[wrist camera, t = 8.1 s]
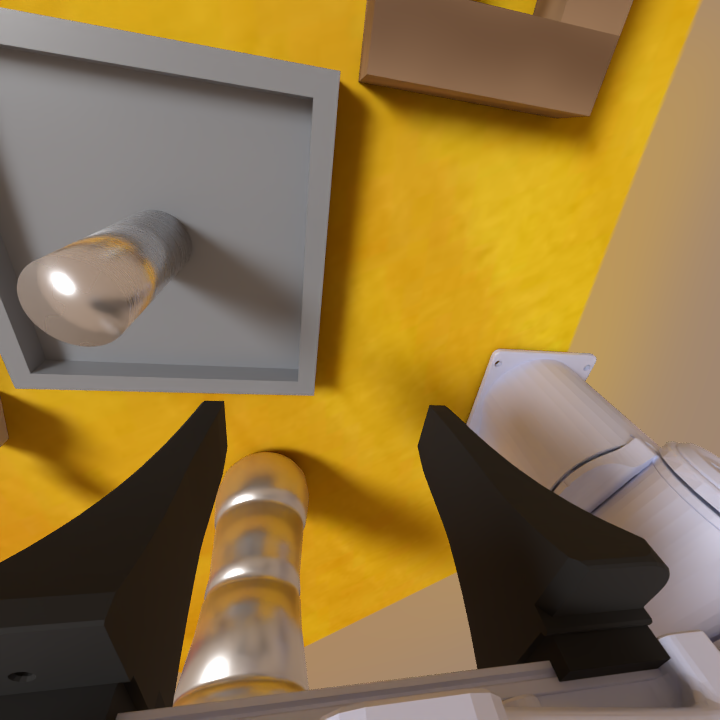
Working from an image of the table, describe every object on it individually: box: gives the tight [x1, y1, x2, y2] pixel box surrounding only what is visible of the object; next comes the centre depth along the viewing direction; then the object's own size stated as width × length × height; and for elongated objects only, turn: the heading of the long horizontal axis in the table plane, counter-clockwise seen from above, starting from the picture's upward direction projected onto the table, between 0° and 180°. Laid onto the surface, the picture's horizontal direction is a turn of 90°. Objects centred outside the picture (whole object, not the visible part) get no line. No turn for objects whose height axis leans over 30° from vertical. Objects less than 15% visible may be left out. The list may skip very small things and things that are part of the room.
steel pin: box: [17, 210, 192, 347], centre depth 15 cm, size 3×3×8 cm
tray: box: [0, 8, 340, 395], centre depth 18 cm, size 16×16×2 cm
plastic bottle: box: [173, 452, 309, 707], centre depth 20 cm, size 6×7×20 cm
